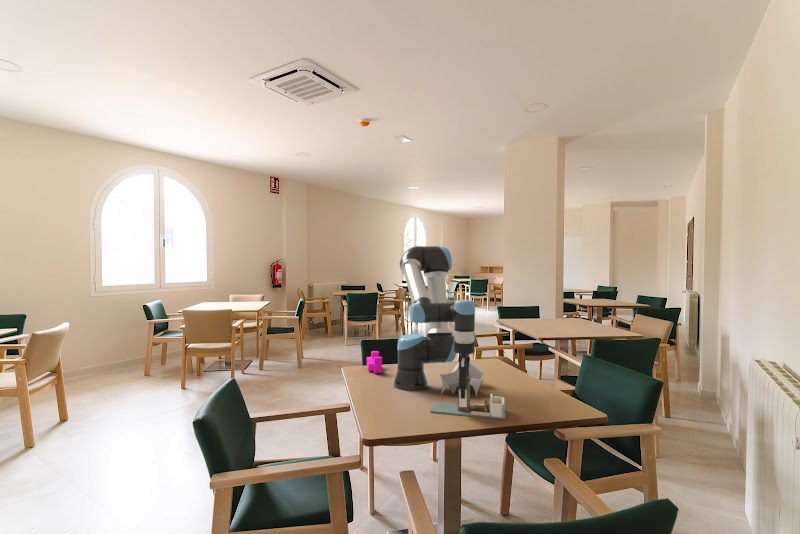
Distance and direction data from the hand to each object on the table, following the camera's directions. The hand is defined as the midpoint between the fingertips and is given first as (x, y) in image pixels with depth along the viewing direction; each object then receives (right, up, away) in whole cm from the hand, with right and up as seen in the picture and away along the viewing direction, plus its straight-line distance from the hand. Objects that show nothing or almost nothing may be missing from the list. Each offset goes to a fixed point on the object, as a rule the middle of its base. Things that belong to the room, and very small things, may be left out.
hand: (464, 402), depth 148 cm
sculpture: (+4, -3, +28) cm, 29 cm away
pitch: (+1, -3, 0) cm, 4 cm away
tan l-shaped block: (+3, -2, -1) cm, 4 cm away
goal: (+12, -3, -3) cm, 12 cm away
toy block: (-37, -3, +58) cm, 69 cm away
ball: (+10, -1, -2) cm, 10 cm away
